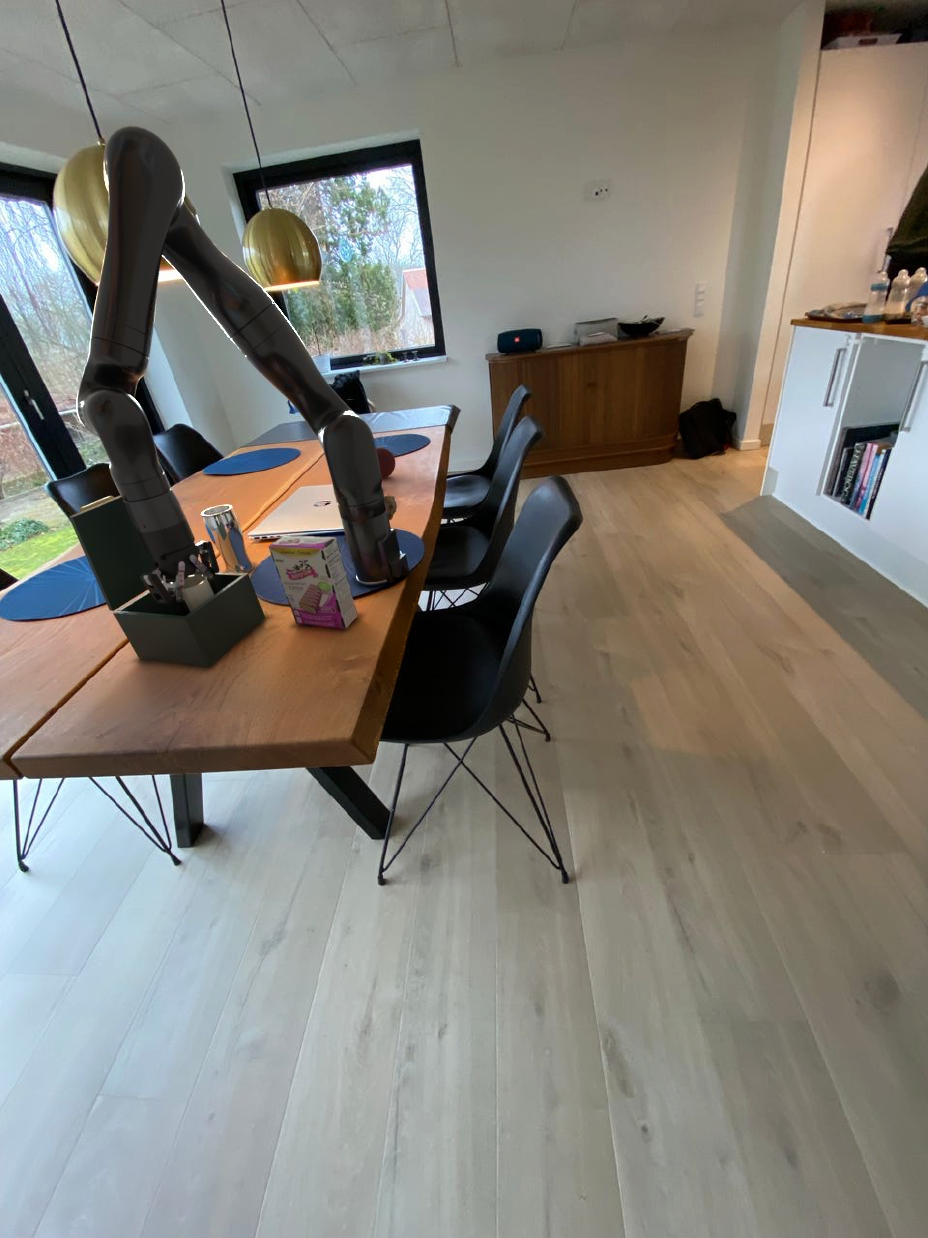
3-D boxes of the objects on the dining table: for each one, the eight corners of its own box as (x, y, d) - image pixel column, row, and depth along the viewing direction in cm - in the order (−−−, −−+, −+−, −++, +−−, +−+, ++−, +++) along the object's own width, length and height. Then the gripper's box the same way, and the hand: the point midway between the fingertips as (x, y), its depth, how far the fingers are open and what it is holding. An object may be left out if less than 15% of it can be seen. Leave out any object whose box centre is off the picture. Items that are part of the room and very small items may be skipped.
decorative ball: (364, 483, 170) (357, 452, 164) (374, 473, 178) (367, 444, 173) (393, 480, 168) (387, 450, 162) (401, 471, 176) (395, 441, 171)
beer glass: (260, 562, 124) (238, 503, 116) (247, 576, 118) (223, 514, 110) (234, 564, 125) (210, 505, 117) (220, 578, 119) (193, 517, 111)
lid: (154, 482, 89) (129, 478, 91) (72, 517, 77) (44, 511, 78) (181, 568, 99) (158, 563, 101) (113, 611, 87) (87, 604, 88)
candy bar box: (295, 626, 96) (265, 546, 87) (309, 612, 99) (283, 534, 91) (346, 631, 92) (321, 547, 83) (359, 616, 96) (337, 535, 87)
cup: (229, 610, 94) (213, 575, 90) (206, 628, 90) (188, 591, 86) (204, 608, 96) (187, 573, 92) (180, 626, 92) (162, 590, 88)
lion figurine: (398, 524, 134) (392, 490, 129) (403, 530, 129) (396, 496, 125) (343, 538, 130) (334, 504, 126) (346, 545, 126) (337, 510, 121)
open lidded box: (266, 618, 100) (248, 573, 94) (209, 668, 87) (185, 619, 82) (201, 613, 105) (181, 570, 100) (139, 659, 93) (112, 613, 87)
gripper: (141, 539, 76) (187, 632, 85) (209, 504, 87) (243, 590, 96) (105, 538, 79) (153, 629, 87) (176, 504, 90) (212, 588, 99)
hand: (200, 608), depth 92 cm, fingers closed on cup, 6 cm apart
